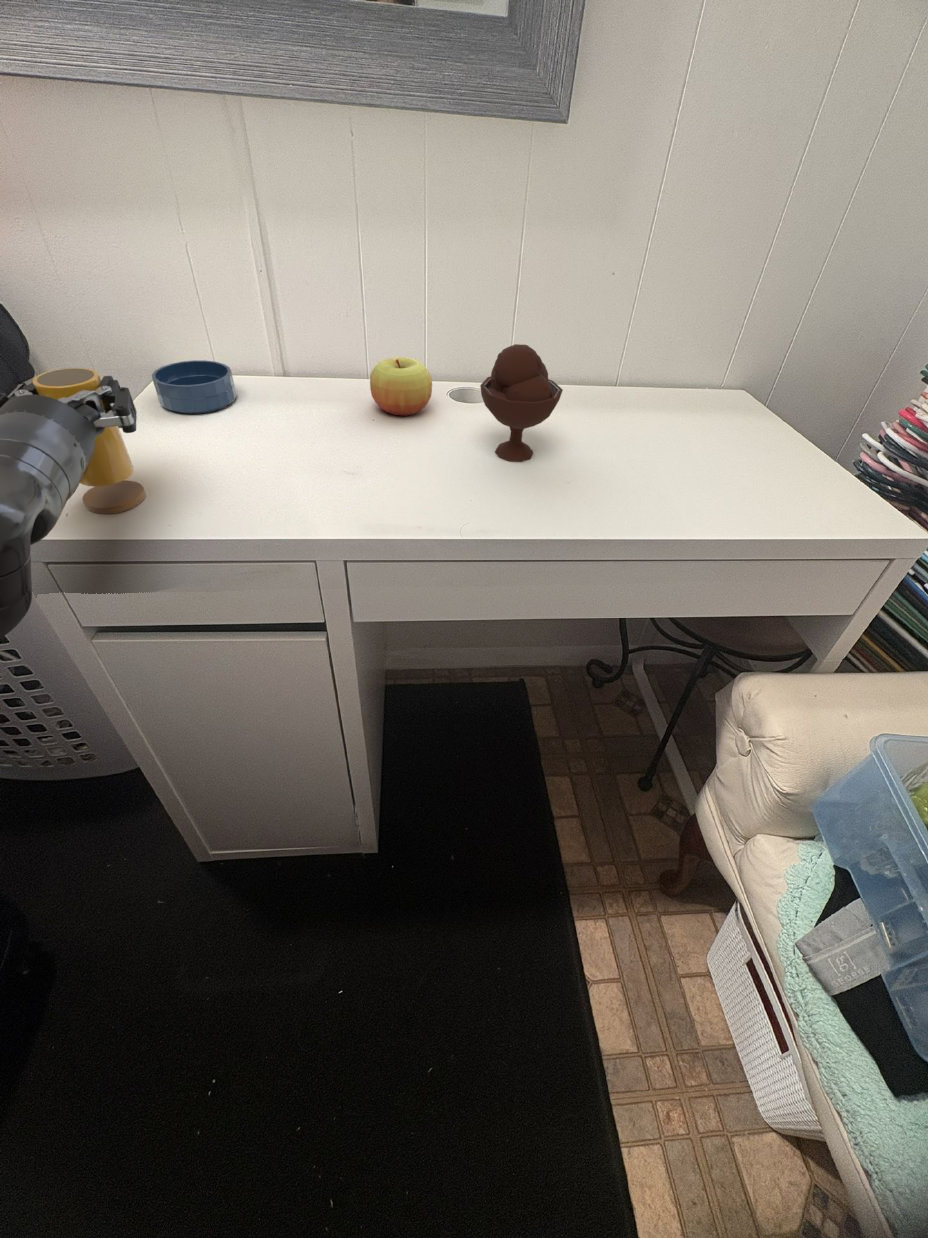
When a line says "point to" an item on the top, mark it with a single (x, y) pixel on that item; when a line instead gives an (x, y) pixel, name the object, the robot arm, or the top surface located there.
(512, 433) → the ice cream bowl
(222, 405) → the bowl
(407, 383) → the apple
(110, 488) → the coaster
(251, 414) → the top surface
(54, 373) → the cup
